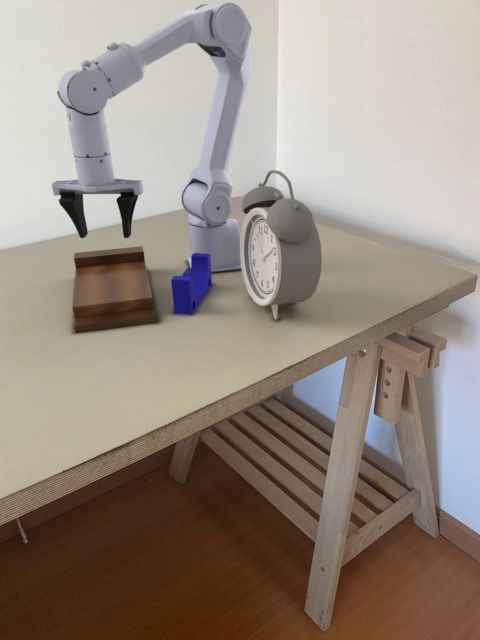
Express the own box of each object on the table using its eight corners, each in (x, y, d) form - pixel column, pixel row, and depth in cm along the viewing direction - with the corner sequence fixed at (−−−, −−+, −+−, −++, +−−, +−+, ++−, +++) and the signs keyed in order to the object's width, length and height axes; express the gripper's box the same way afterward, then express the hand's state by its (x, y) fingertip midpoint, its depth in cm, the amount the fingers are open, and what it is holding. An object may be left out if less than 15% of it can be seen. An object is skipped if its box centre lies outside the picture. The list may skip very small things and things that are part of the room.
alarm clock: (237, 291, 99) (231, 163, 88) (281, 282, 102) (281, 158, 91) (275, 331, 86) (274, 187, 75) (325, 320, 89) (331, 180, 78)
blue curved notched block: (188, 283, 103) (185, 252, 100) (212, 285, 102) (210, 253, 99) (165, 312, 92) (162, 278, 89) (191, 314, 92) (188, 280, 89)
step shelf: (145, 269, 109) (142, 246, 106) (156, 322, 89) (152, 294, 87) (79, 276, 106) (74, 252, 104) (75, 332, 87) (69, 304, 84)
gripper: (38, 159, 86) (56, 244, 93) (130, 159, 86) (141, 244, 93) (54, 150, 92) (70, 230, 99) (141, 149, 92) (151, 230, 99)
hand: (105, 236), depth 96 cm, fingers open, 7 cm apart
